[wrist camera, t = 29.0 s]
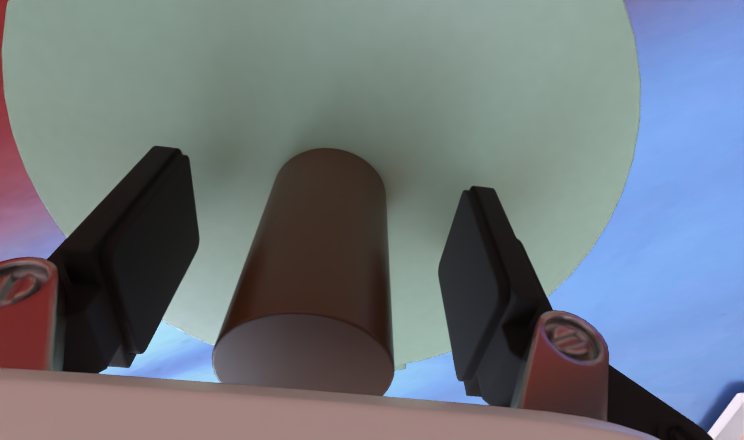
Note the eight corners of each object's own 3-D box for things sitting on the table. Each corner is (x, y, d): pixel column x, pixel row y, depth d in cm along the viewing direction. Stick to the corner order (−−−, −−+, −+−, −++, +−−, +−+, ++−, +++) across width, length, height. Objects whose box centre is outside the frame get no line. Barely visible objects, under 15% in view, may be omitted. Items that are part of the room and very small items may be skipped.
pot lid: (188, 362, 18) (110, 552, 13) (-139, -112, 9) (-1008, -154, 3) (575, 324, 17) (672, 521, 11) (704, -299, 7) (1761, -974, 2)
